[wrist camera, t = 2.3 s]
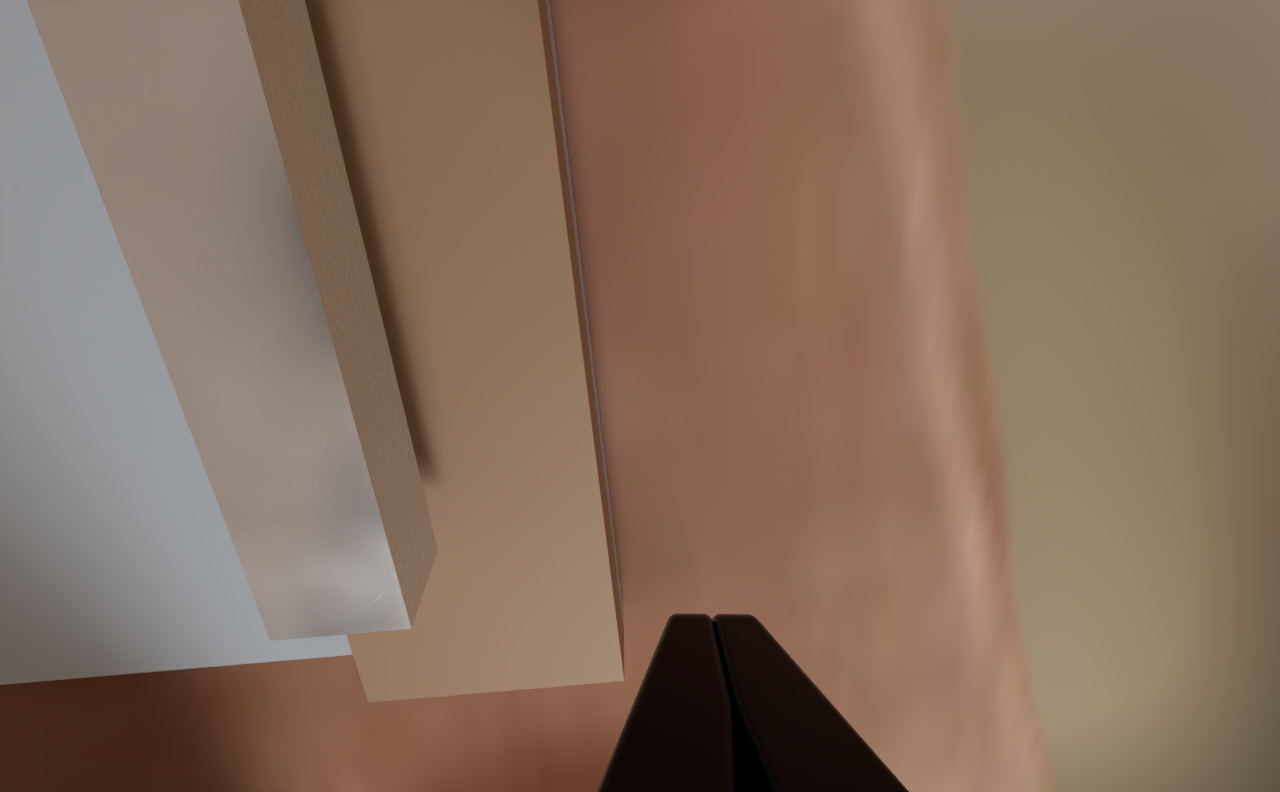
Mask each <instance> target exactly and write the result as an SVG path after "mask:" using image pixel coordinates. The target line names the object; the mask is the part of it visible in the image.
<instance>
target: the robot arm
mask: <svg viewBox="0 0 1280 792" xmlns="http://www.w3.org/2000/svg"><path fill="white" fill-rule="evenodd" d="M597 792H909V791H908V790H907V789H906V788H905V787H904V786H903V784H902V783H901V782H900V781H899V780H898V779H897V778H896V776H895V775H894V774H893V773H892V772H891V771H890V770H889V768H888V767H887V766H886V765H885V764H884V763H883V762H882V760H881V759H880V758H879V757H878V756H877V755H876V754H875V753H874V751H873V750H872V749H871V748H870V747H869V746H868V745H867V743H866V742H865V741H864V740H863V739H862V738H861V737H860V735H859V734H858V733H857V732H856V731H855V730H854V729H853V727H852V726H851V725H850V724H849V723H848V722H847V721H846V719H845V718H844V717H843V716H842V715H841V714H840V713H839V712H838V710H837V709H836V708H835V707H834V706H833V705H832V704H831V702H830V701H829V700H828V699H827V698H826V697H825V696H824V694H823V693H822V692H821V691H820V690H819V689H818V688H817V686H816V685H815V684H814V683H813V682H812V681H811V680H810V678H809V677H808V676H807V675H806V674H805V673H804V672H803V671H802V669H801V668H800V667H799V666H798V665H797V664H796V663H795V661H794V660H793V659H792V658H791V657H790V656H789V655H788V653H787V652H786V651H785V650H784V649H783V648H782V647H781V645H780V644H779V643H778V642H777V641H776V640H775V639H774V637H773V636H772V635H771V634H770V633H769V632H768V631H767V629H766V628H765V627H764V626H763V625H762V624H761V623H760V622H759V620H758V619H757V618H755V617H754V616H752V615H748V614H718V615H716V616H714V618H713V619H711V618H710V616H708V615H706V614H673V615H672V616H671V617H670V618H669V619H668V621H667V624H666V626H665V628H664V631H663V633H662V636H661V638H660V641H659V643H658V645H657V648H656V650H655V653H654V655H653V657H652V660H651V662H650V665H649V667H648V670H647V672H646V674H645V677H644V679H643V682H642V684H641V687H640V689H639V691H638V694H637V696H636V699H635V701H634V704H633V706H632V708H631V711H630V713H629V716H628V718H627V720H626V723H625V725H624V728H623V730H622V733H621V735H620V737H619V740H618V742H617V745H616V747H615V750H614V752H613V754H612V757H611V759H610V762H609V764H608V766H607V769H606V771H605V774H604V776H603V779H602V781H601V783H600V786H599V788H598V791H597Z"/></svg>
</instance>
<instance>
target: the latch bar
mask: <svg viewBox="0 0 1280 792" xmlns="http://www.w3.org/2000/svg"><path fill="white" fill-rule="evenodd" d="M27 3H28V5H29V8H30V11H31V13H32V16H33V18H34V21H35V24H36V26H37V29H38V32H39V34H40V37H41V39H42V42H43V45H44V47H45V50H46V53H47V55H48V58H49V60H50V63H51V66H52V68H53V71H54V74H55V76H56V79H57V82H58V84H59V87H60V89H61V92H62V95H63V97H64V100H65V103H66V105H67V108H68V110H69V113H70V116H71V118H72V121H73V124H74V126H75V129H76V131H77V134H78V137H79V139H80V142H81V145H82V147H83V150H84V153H85V155H86V158H87V160H88V163H89V166H90V168H91V171H92V174H93V176H94V179H95V181H96V184H97V187H98V189H99V192H100V195H101V197H102V200H103V202H104V205H105V208H106V210H107V213H108V216H109V218H110V221H111V224H112V226H113V229H114V231H115V234H116V237H117V239H118V242H119V245H120V247H121V250H122V252H123V255H124V258H125V260H126V263H127V266H128V268H129V271H130V274H131V276H132V279H133V281H134V284H135V287H136V289H137V292H138V295H139V297H140V300H141V302H142V305H143V308H144V310H145V313H146V316H147V318H148V321H149V323H150V326H151V329H152V331H153V334H154V337H155V339H156V342H157V345H158V347H159V350H160V352H161V355H162V358H163V360H164V363H165V366H166V368H167V371H168V373H169V376H170V379H171V381H172V384H173V387H174V389H175V392H176V394H177V397H178V400H179V402H180V405H181V408H182V410H183V413H184V416H185V418H186V421H187V423H188V426H189V429H190V431H191V434H192V437H193V439H194V442H195V444H196V447H197V450H198V452H199V455H200V458H201V460H202V463H203V465H204V468H205V471H206V473H207V476H208V479H209V481H210V484H211V487H212V489H213V492H214V494H215V497H216V500H217V502H218V505H219V508H220V510H221V513H222V515H223V518H224V521H225V523H226V526H227V529H228V531H229V534H230V536H231V539H232V542H233V544H234V547H235V550H236V552H237V555H238V558H239V560H240V563H241V565H242V568H243V571H244V573H245V576H246V579H247V581H248V584H249V586H250V589H251V592H252V594H253V597H254V600H255V602H256V605H257V607H258V610H259V613H260V615H261V618H262V621H263V623H264V626H265V629H266V631H267V634H268V636H269V639H270V641H275V640H287V639H298V638H310V637H322V636H333V635H345V634H356V633H368V632H380V631H391V630H403V629H412V626H413V623H414V620H415V617H416V614H417V611H418V608H419V605H420V602H421V599H422V596H423V593H424V590H425V587H426V584H427V581H428V578H429V575H430V572H431V569H432V566H433V563H434V560H435V557H436V554H437V551H438V548H437V544H436V539H435V535H434V531H433V527H432V523H431V519H430V515H429V511H428V506H427V502H426V498H425V494H424V490H423V486H422V482H421V478H420V473H419V469H418V465H417V461H416V457H415V453H414V449H413V445H412V440H411V436H410V432H409V428H408V424H407V420H406V416H405V412H404V407H403V403H402V399H401V395H400V391H399V387H398V383H397V379H396V375H395V370H394V366H393V362H392V358H391V354H390V350H389V346H388V342H387V337H386V333H385V329H384V325H383V321H382V317H381V313H380V309H379V304H378V300H377V296H376V292H375V288H374V284H373V280H372V276H371V271H370V267H369V263H368V259H367V255H366V251H365V247H364V243H363V238H362V234H361V230H360V226H359V222H358V218H357V214H356V210H355V205H354V201H353V197H352V193H351V189H350V185H349V181H348V177H347V172H346V168H345V164H344V160H343V156H342V152H341V148H340V144H339V140H338V135H337V131H336V127H335V123H334V119H333V115H332V111H331V107H330V102H329V98H328V94H327V90H326V86H325V82H324V78H323V74H322V69H321V65H320V61H319V57H318V53H317V49H316V45H315V41H314V36H313V32H312V28H311V24H310V20H309V16H308V12H307V8H306V3H305V0H27Z"/></svg>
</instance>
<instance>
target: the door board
mask: <svg viewBox="0 0 1280 792" xmlns="http://www.w3.org/2000/svg"><path fill="white" fill-rule="evenodd" d="M305 3H306V8H307V12H308V16H309V20H310V24H311V28H312V32H313V36H314V41H315V45H316V49H317V53H318V57H319V61H320V65H321V69H322V74H323V78H324V82H325V86H326V90H327V94H328V98H329V102H330V107H331V111H332V115H333V119H334V123H335V127H336V131H337V135H338V140H339V144H340V148H341V152H342V156H343V160H344V164H345V168H346V172H347V177H348V181H349V185H350V189H351V193H352V197H353V201H354V205H355V210H356V214H357V218H358V222H359V226H360V230H361V234H362V238H363V243H364V247H365V251H366V255H367V259H368V263H369V267H370V271H371V276H372V280H373V284H374V288H375V292H376V296H377V300H378V304H379V309H380V313H381V317H382V321H383V325H384V329H385V333H386V337H387V342H388V346H389V350H390V354H391V358H392V362H393V366H394V370H395V375H396V379H397V383H398V387H399V391H400V395H401V399H402V403H403V407H404V412H405V416H406V420H407V424H408V428H409V432H410V436H411V440H412V445H413V449H414V453H415V457H416V461H417V465H418V469H419V473H420V478H421V482H422V486H423V490H424V494H425V498H426V502H427V506H428V511H429V515H430V519H431V523H432V527H433V531H434V535H435V539H436V544H437V548H438V551H437V554H436V557H435V560H434V563H433V566H432V569H431V572H430V575H429V578H428V581H427V584H426V587H425V590H424V593H423V596H422V599H421V602H420V605H419V608H418V611H417V614H416V617H415V620H414V623H413V626H412V629H403V630H391V631H380V632H368V633H356V634H345V635H333V636H322V637H310V638H298V639H287V640H275V641H270V639H269V636H268V634H267V631H266V629H265V626H264V623H263V621H262V618H261V615H260V613H259V610H258V607H257V605H256V602H255V600H254V597H253V594H252V592H251V589H250V586H249V584H248V581H247V579H246V576H245V573H244V571H243V568H242V565H241V563H240V560H239V558H238V555H237V552H236V550H235V547H234V544H233V542H232V539H231V536H230V534H229V531H228V529H227V526H226V523H225V521H224V518H223V515H222V513H221V510H220V508H219V505H218V502H217V500H216V497H215V494H214V492H213V489H212V487H211V484H210V481H209V479H208V476H207V473H206V471H205V468H204V465H203V463H202V460H201V458H200V455H199V452H198V450H197V447H196V444H195V442H194V439H193V437H192V434H191V431H190V429H189V426H188V423H187V421H186V418H185V416H184V413H183V410H182V408H181V405H180V402H179V400H178V397H177V394H176V392H175V389H174V387H173V384H172V381H171V379H170V376H169V373H168V371H167V368H166V366H165V363H164V360H163V358H162V355H161V352H160V350H159V347H158V345H157V342H156V339H155V337H154V334H153V331H152V329H151V326H150V323H149V321H148V318H147V316H146V313H145V310H144V308H143V305H142V302H141V300H140V297H139V295H138V292H137V289H136V287H135V284H134V281H133V279H132V276H131V274H130V271H129V268H128V266H127V263H126V260H125V258H124V255H123V252H122V250H121V247H120V245H119V242H118V239H117V237H116V234H115V231H114V229H113V226H112V224H111V221H110V218H109V216H108V213H107V210H106V208H105V205H104V202H103V200H102V197H101V195H100V192H99V189H98V187H97V184H96V181H95V179H94V176H93V174H92V171H91V168H90V166H89V163H88V160H87V158H86V155H85V153H84V150H83V147H82V145H81V142H80V139H79V137H78V134H77V131H76V129H75V126H74V124H73V121H72V118H71V116H70V113H69V110H68V108H67V105H66V103H65V100H64V97H63V95H62V92H61V89H60V87H59V84H58V82H57V79H56V76H55V74H54V71H53V68H52V66H51V63H50V60H49V58H48V55H47V53H46V50H45V47H44V45H43V42H42V39H41V37H40V34H39V32H38V29H37V26H36V24H35V21H34V18H33V16H32V13H31V11H30V8H29V5H28V3H27V0H0V685H5V684H17V683H29V682H40V681H52V680H64V679H75V678H87V677H99V676H110V675H122V674H134V673H145V672H157V671H169V670H180V669H192V668H203V667H215V666H227V665H238V664H250V663H262V662H273V661H285V660H297V659H308V658H320V657H332V656H343V655H353V657H354V660H355V663H356V666H357V669H358V672H359V675H360V678H361V681H362V685H363V688H364V691H365V694H366V697H367V700H368V703H370V702H382V701H394V700H406V699H417V698H429V697H441V696H453V695H464V694H476V693H488V692H500V691H511V690H523V689H535V688H547V687H558V686H570V685H582V684H594V683H605V682H617V681H624V620H623V601H622V593H621V584H620V576H619V568H618V560H617V552H616V543H615V535H614V527H613V519H612V510H611V502H610V494H609V486H608V477H607V469H606V461H605V453H604V444H603V436H602V428H601V420H600V411H599V403H598V395H597V387H596V378H595V370H594V362H593V354H592V345H591V337H590V329H589V321H588V312H587V304H586V296H585V288H584V279H583V271H582V263H581V255H580V247H579V238H578V230H577V222H576V214H575V205H574V197H573V189H572V181H571V172H570V164H569V156H568V148H567V139H566V131H565V123H564V115H563V106H562V98H561V90H560V82H559V73H558V65H557V57H556V49H555V40H554V32H553V24H552V16H551V7H550V0H305Z"/></svg>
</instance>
